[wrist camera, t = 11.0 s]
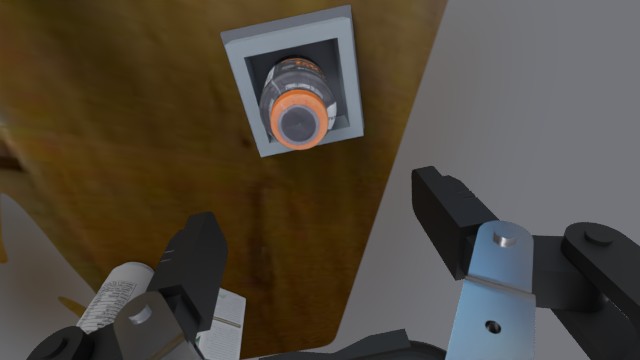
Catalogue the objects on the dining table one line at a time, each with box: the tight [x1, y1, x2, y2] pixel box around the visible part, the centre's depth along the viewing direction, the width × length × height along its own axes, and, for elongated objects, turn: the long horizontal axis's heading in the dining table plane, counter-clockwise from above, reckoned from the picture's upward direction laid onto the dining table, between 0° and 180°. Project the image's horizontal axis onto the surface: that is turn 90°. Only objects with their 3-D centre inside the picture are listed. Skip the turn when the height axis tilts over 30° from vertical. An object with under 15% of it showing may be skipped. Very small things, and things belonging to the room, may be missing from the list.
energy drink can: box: [76, 262, 154, 334], centre depth 36 cm, size 6×6×15 cm
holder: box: [220, 5, 364, 157], centre depth 29 cm, size 12×12×4 cm
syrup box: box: [195, 288, 246, 360], centre depth 40 cm, size 6×6×14 cm
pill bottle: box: [259, 55, 337, 150], centre depth 25 cm, size 6×6×11 cm
